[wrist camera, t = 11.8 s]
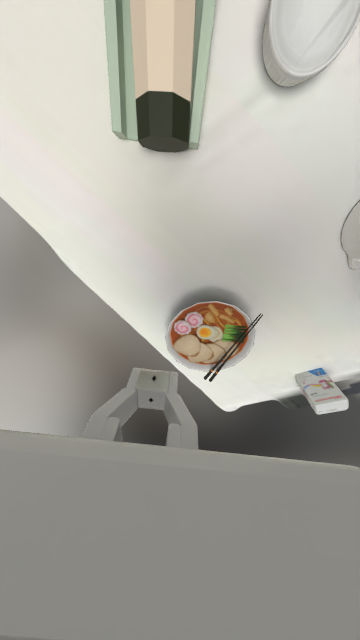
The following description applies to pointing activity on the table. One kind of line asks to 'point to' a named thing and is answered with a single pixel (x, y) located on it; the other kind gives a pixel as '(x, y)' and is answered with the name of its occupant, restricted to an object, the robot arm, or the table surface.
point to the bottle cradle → (124, 68)
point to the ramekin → (306, 36)
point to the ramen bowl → (210, 336)
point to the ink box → (321, 392)
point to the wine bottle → (163, 71)
